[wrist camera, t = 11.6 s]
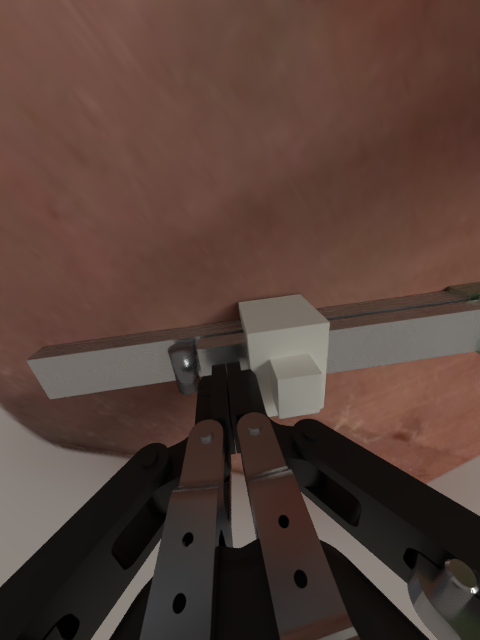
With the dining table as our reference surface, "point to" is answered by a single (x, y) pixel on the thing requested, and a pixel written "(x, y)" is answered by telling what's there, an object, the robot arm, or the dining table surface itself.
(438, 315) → the bar
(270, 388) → the lock slider
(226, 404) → the robot arm
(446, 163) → the dining table surface
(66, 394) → the base
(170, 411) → the dining table surface
